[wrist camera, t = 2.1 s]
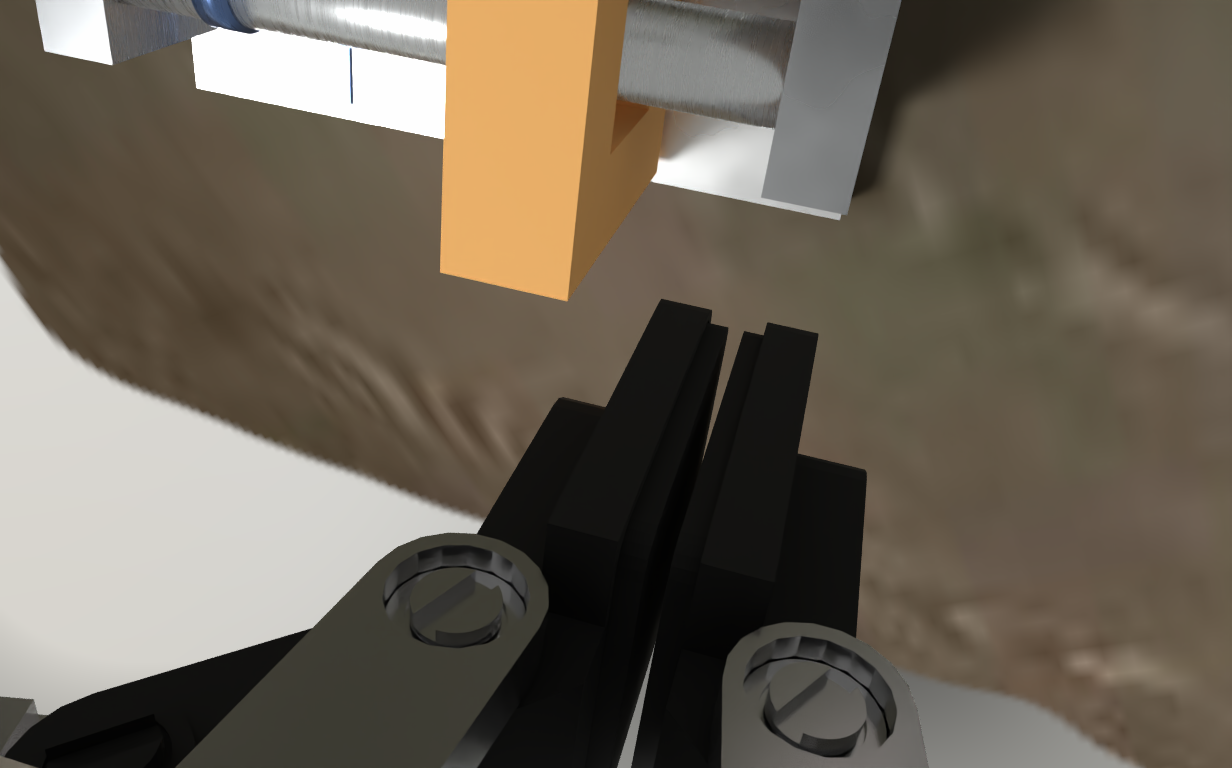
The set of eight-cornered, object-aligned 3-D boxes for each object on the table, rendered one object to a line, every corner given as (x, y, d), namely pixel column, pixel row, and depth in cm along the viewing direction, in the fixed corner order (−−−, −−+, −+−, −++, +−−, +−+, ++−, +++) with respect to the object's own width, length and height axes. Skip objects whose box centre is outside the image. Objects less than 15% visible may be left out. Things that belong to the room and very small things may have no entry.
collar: (706, -174, 25) (614, -159, 18) (656, 172, 30) (567, 301, 22) (590, -191, 26) (452, -184, 18) (559, 152, 30) (440, 272, 23)
